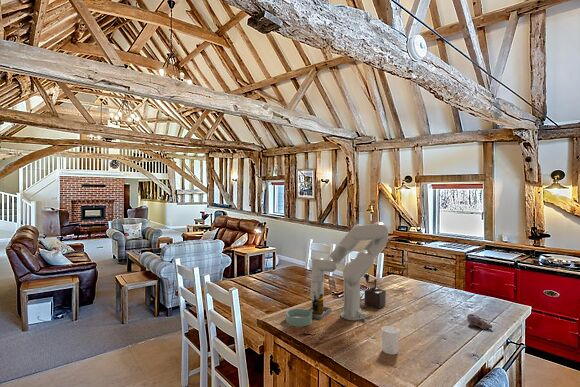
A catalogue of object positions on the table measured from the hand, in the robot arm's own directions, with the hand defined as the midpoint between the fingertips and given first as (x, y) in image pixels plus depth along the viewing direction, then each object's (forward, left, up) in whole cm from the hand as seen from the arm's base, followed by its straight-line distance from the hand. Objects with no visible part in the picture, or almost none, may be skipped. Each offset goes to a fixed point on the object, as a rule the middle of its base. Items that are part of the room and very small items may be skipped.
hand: (317, 308), depth 193 cm
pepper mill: (-23, -34, -3) cm, 41 cm away
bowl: (+4, +16, -3) cm, 17 cm away
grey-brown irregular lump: (-84, -29, -3) cm, 88 cm away
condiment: (0, +1, -3) cm, 3 cm away
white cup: (-48, +24, -3) cm, 54 cm away
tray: (0, 0, -3) cm, 3 cm away
